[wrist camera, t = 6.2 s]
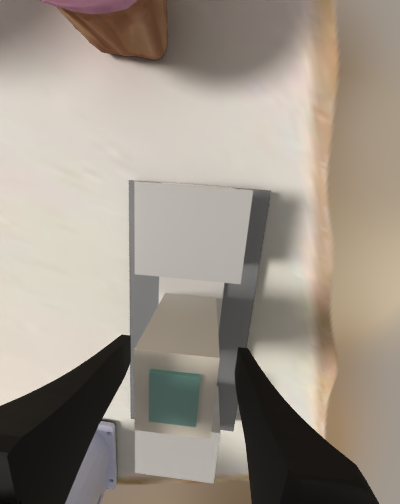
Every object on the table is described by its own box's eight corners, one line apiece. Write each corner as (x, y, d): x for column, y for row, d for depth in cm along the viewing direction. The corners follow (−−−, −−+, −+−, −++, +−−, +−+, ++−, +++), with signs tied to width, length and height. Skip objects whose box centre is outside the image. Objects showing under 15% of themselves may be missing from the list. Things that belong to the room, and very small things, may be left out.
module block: (210, 352, 15) (210, 444, 9) (163, 347, 16) (133, 434, 10) (216, 297, 14) (220, 361, 8) (165, 293, 14) (132, 352, 8)
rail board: (232, 419, 19) (239, 491, 14) (134, 407, 19) (109, 473, 14) (266, 192, 14) (296, 182, 9) (134, 182, 14) (95, 168, 9)
